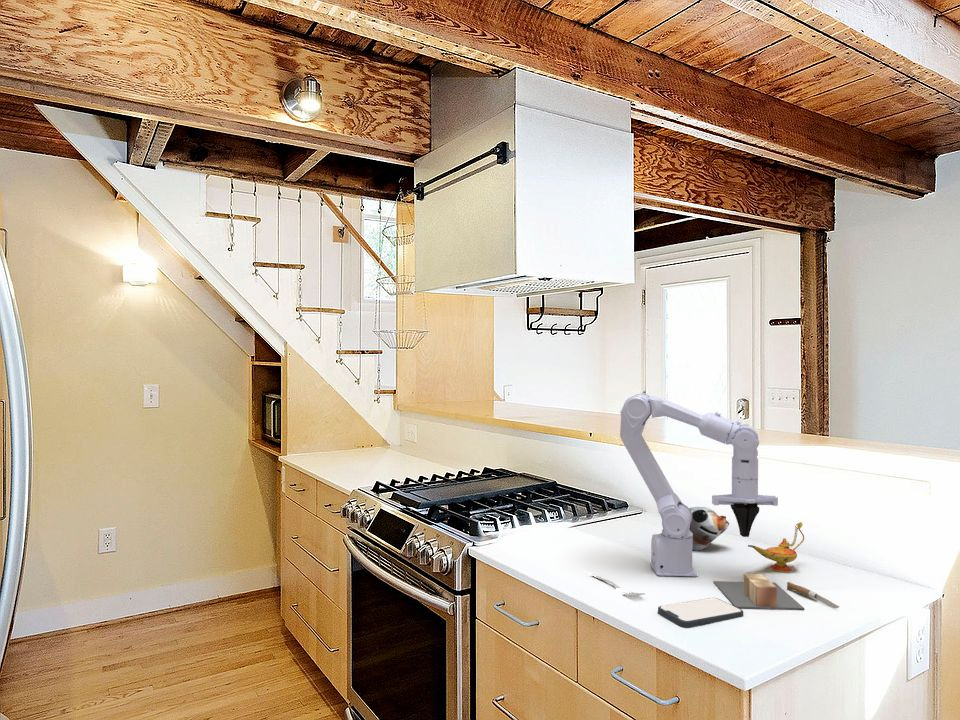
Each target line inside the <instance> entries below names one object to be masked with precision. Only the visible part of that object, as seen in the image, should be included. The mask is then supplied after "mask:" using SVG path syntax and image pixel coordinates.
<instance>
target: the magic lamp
mask: <svg viewBox="0 0 960 720" xmlns="http://www.w3.org/2000/svg"><path fill="white" fill-rule="evenodd" d="M803 525H804V524H803V522H802V521H800V522H798V523H796V524H795V526H794V535H793V537H794V538H793V541H792V543H791V544H790V542H789V541H788V540H787V538H784V537H783V539H782V541H781V542H780V543H779V544H778V545H777V546H770V547H768V548H766V549H765V548H761V547H760V546H759V547H758V546H756V545H752V544H748V545H747V547H749V548H752V549H754V550H755V551H756V552H757V553H759V554H760V555H761V556H763V557H764V558H765V559H768V560H771V561H774V562H775V564H772V565H770V567H769V568H770V569H771V570H773V571H777V572H781V573H791V572H793V570H794V569H793V568H792V567H790V566H789V565H788V564H787V563H792V562H793V561H795V560H796V559H797V557H798V554H797V551H796V549H798V548H799V546H801V545H802V544H803V542H804V540H805V535H804V533H803V531H802V530H801V528H802V527H803ZM798 532H799V533H801V535H802V540H801V541H800V542H799V544H797V545H796V546H795V547H794V548H793V549H792V548H791V547H793V546H794V545H795V544H796V542H797V536H798Z"/></svg>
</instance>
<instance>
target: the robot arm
mask: <svg viewBox="0 0 960 720" xmlns="http://www.w3.org/2000/svg"><path fill="white" fill-rule="evenodd" d="M721 415H722V414H721V413H719V412H717V411H715V412H714V413H713V412H707V413H704V414H701V413H698V412H696V411H693V410H691V409H689V408H687V407H684V406H681V405H679V404H676V403H674V402H671V401H670V400H667V399H665V398H661V397H658V396H654V395H651V396H650V395H648V394H647V393H643V392H642V393H641V392H640V393H636V394H634V395H632V396H630V397H628V398H627V399H626V400H625V401H624V404H623V406H622V408H621V410H620V428H619V430H620V431H619V437H620V440H621V442H622V443H623V445H624V447H625V449H626V450H627V452H628V455H629V456H630V458H631V459H632V461H633V463H634V465H635V467H636V469H637V471H638V473H639V474H640V476H641V478H642V480H643V481H644V483H645V486H646V487H647V488H648V490H649V492H650V494H651V496H652V498H653V500H654V501H655V503H656V507H657V510H658V514H659V515H660V518H661V526H662V530H661V533H657V534H656V533H654V534H652V536H651V541H650V542H651V543H650V545H651V546H650V547H651V549H650V550H651V552H650V554H651V555H650V566H651V568H652V570H653V571H654V573H655V575H656V576H661V577H662V576H664V577H665V576H666V577H674V576H675V577H698V572H696V571H695V570H694V568H693V551H692V547H693V533H692V532H691V531H690V529H689V528H690V523H691V521H692V512H691V510H690V509H689V508H690V507H689V506H688V505H686V504H684V503H683V502H682V499H680V497H679V495H678V494H676V493H675V491H674V490H673V488H672V486H671V484H670V482H669V481H668V479H667V478H666V476H665V474H664V473H663V470H662V469H661V467H660V465H659V463H658V461H657V460H656V458H655V456H654V455H653V453H652V451H651V449H650V447H649V446H648V444H647V442H646V440H645V439H644V438H645V437H644V436H643V432H644V429H645V426H646V422H647V421H648V420H649V418H650V417H651V418H652V419H653V418H661V417H667V418H669V419H673V420H675V421H678V422H681V423H684V424H687V425H690V426H691V427H692V426H693V427H695V428H698V431H699V432H700V435H701V436H704V437H706V438H709V439H710V440H714V441H716V442H719V443H721V444H725V445H727V446H728V445H732V450H733V453H732V454H733V456H732V457H731V493H729V494H717V495H715V494H714V495H713V494H712V495H711V504H712V505H714V506H721V505H722V506H723V505H725V506H728V505H729V506H730V508H731V510H732V512H733V514H734V517H735V519H736V523H737V525H738V528H739V529H738V530H739V534H740V536H742V537H743V538H744V537H745V538H749V537H750V533H751V530H752V526H753V523H754V522H755V519H756V517H757V516H758V514H759V512H760V507H759V506H773V507H776V506H777V507H778V506H779V498H778V497H777V496H776V495H764V494H759V458H758V456H759V454H758V453H759V450H758V447H759V445H760V440H759V434H758V431H757V430H756V429H755V428H753V427H752V426H751V425H748V424H747V423H745V424H743V423H742V421H740V420H736V421H734V420H732V419H729V418H727V417H724V416H721Z"/></svg>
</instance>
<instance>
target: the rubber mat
mask: <svg viewBox="0 0 960 720" xmlns="http://www.w3.org/2000/svg"><path fill="white" fill-rule="evenodd" d="M770 582H771V581H770ZM712 583H713V584H714V586H715V587H718V588H717V589H718V590H719V591H720V592H721V593H722V594H723V596H725V598H726V599H727V600H728V601H729V602H730V603H731V605H733V606H735V607H737V608H739V609H741V610H745V609H747V610H780V611H781V610H787V611H789V610H791V611H805V607H804V606H802V605H801V603H799V602H798V601H797V600H796V599H794V598H793V596H791V595H790V594H789V593H788V592H786V591H785V590H784V589H783V588H782V587H781V586H780V585H779V584H778V583H776V582H771V583H772V584H773V585H775V586H776V587H777V607H773V606H756V605H755V603H754V602H753V601H752V600H751V599H750V598H749V597H748V596H747V595H746V594H745V593H744V592H743V581H725V580H723V581H722V580H721V581H720V580H718V581H717V580H716V581H715V580H713V581H712Z"/></svg>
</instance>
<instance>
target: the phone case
mask: <svg viewBox="0 0 960 720" xmlns="http://www.w3.org/2000/svg"><path fill="white" fill-rule="evenodd" d="M657 613H658V615H659V614H660V615H659V616H661V617H663V618H664V619H666V620H667V621H670V622H671V623H673V624H675V625H677V626H679V627H681V628H684V629H690V628H694V627H699V626H705V625H709V624H714V623H718V622H723V621H729V620H733V619H737V618H741V617H744V609H739V608H737V607H735V606H733V605H732V603H731V604H730V603H728V602H727V601H724V600H722V599H720V598H717V597H708V598H702V599H701V598H700V599H695V600H691V601H690V600H689V601H683V602H678V603H677V602H676V603H670V604H665V605H660V606H658V607H657Z"/></svg>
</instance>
